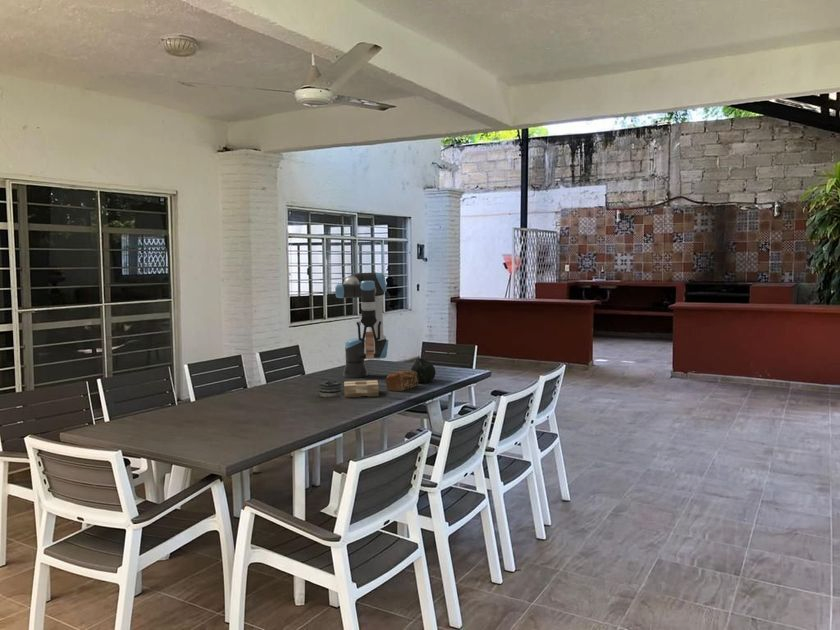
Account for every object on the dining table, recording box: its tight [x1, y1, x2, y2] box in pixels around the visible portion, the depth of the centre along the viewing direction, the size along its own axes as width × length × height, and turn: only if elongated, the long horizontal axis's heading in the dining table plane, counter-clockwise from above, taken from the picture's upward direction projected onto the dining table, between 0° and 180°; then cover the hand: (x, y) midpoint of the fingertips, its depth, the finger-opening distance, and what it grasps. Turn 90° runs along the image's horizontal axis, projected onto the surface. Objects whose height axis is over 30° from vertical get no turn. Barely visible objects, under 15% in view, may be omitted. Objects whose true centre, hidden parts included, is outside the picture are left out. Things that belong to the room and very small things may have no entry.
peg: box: [365, 331, 374, 360], centre depth 352 cm, size 4×4×14 cm
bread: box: [385, 369, 419, 392], centre depth 368 cm, size 19×11×10 cm, turn 148°
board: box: [343, 379, 380, 398], centre depth 354 cm, size 14×18×6 cm
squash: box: [410, 357, 437, 384], centre depth 385 cm, size 14×15×15 cm
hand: (369, 353), depth 352 cm, fingers closed on peg, 4 cm apart
